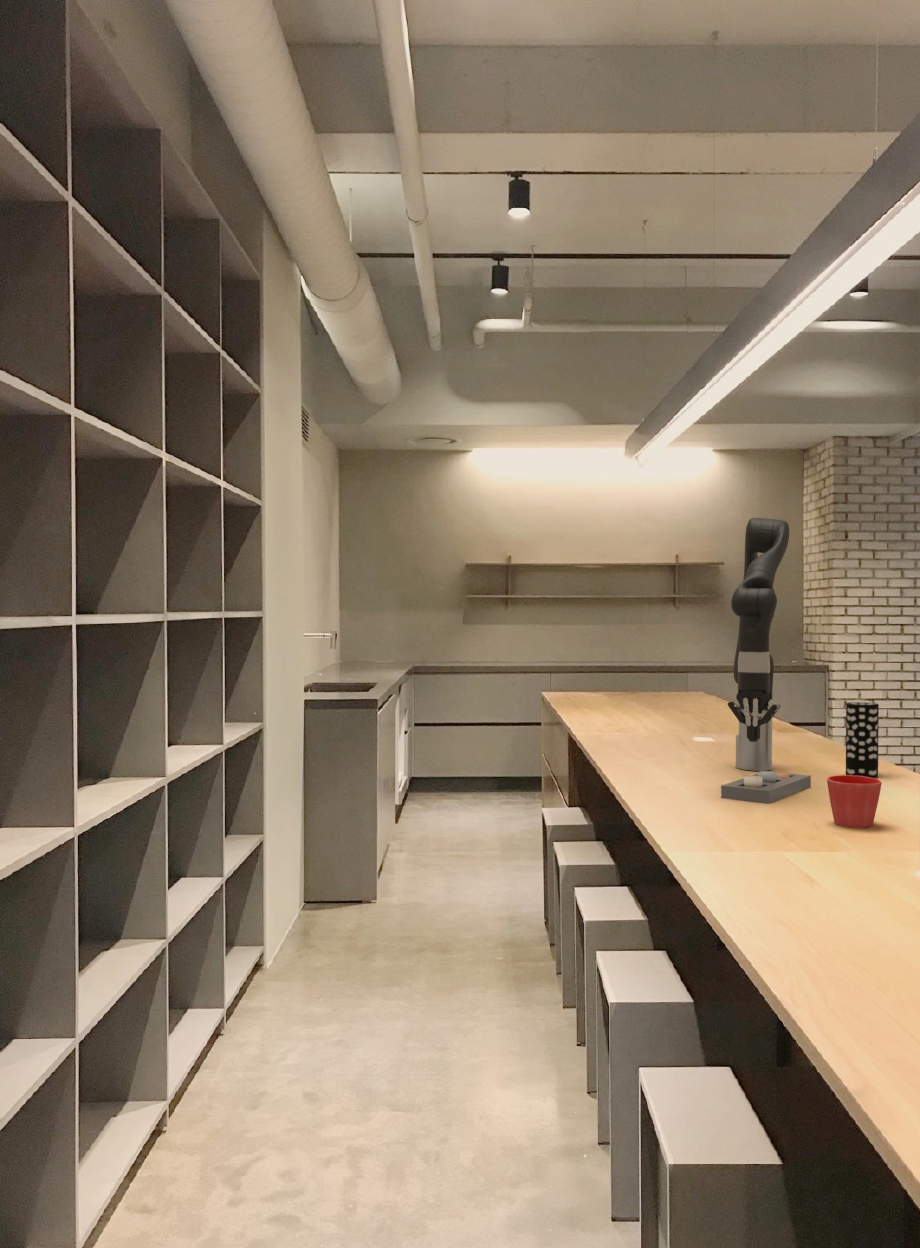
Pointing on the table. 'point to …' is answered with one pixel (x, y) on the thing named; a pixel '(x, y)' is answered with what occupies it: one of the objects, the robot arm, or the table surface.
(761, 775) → the slate button
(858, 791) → the flower pot
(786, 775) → the terracotta button
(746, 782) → the offwhite button
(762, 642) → the robot arm
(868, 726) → the white-spotted black cylinder
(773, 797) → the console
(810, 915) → the table surface
